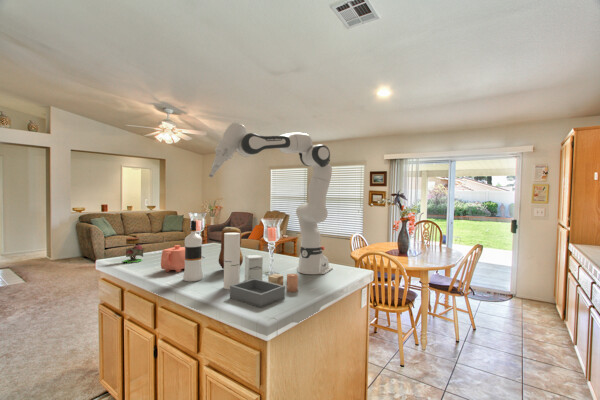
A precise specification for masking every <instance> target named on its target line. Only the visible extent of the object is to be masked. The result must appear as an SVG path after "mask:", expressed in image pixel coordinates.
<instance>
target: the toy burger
mask: <svg viewBox="0 0 600 400" xmlns="http://www.w3.org/2000/svg"><path fill="white" fill-rule="evenodd" d="M125 244H126V245H135V246H133V247H128V248H126V250H125V257H126V258H128V257H129V259H125V260H123V261H122V263H123V262H127V263H126V264H132V263H131V262H136V263H140V262H142V261H143V260H142V258H143V257H144V251H145V249H146V248H145V247H144V248H143V247H142V245H141V244H140V238H139V237H127V238H126V239H125ZM138 256H140V257H142V258H137V257H138ZM139 261H140V262H139Z"/></svg>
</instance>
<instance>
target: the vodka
mask: <svg viewBox="0 0 600 400" xmlns="http://www.w3.org/2000/svg"><path fill="white" fill-rule="evenodd" d="M184 247H185V269H183V270H184V271H183V277H182V278H183V281H185V282H188V283H189V282H190V283H193V282H198V281H201V280H202V279H203V277H204V275H203V268H202V267H203V266H202V261H203V259H202V252H203V251H202V247H203V237H202V236H201V235H200V234H198V233H197V220H190V234H188V235H187V236H186V237H184Z"/></svg>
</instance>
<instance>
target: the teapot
mask: <svg viewBox="0 0 600 400" xmlns="http://www.w3.org/2000/svg"><path fill="white" fill-rule="evenodd" d="M160 268H161V270H165V271H166V272H171V271H175V273H182V270H185V246H181V245H180V244H176V245H175V244H174V247H169V248H165V249H162V252H161V257H160ZM165 271H164V272H165Z"/></svg>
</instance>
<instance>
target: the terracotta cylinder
mask: <svg viewBox="0 0 600 400" xmlns="http://www.w3.org/2000/svg"><path fill="white" fill-rule="evenodd" d="M298 289H299V274H298V273H287V274H286V292H289V293H296V292H298V291H299V290H298Z"/></svg>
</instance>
